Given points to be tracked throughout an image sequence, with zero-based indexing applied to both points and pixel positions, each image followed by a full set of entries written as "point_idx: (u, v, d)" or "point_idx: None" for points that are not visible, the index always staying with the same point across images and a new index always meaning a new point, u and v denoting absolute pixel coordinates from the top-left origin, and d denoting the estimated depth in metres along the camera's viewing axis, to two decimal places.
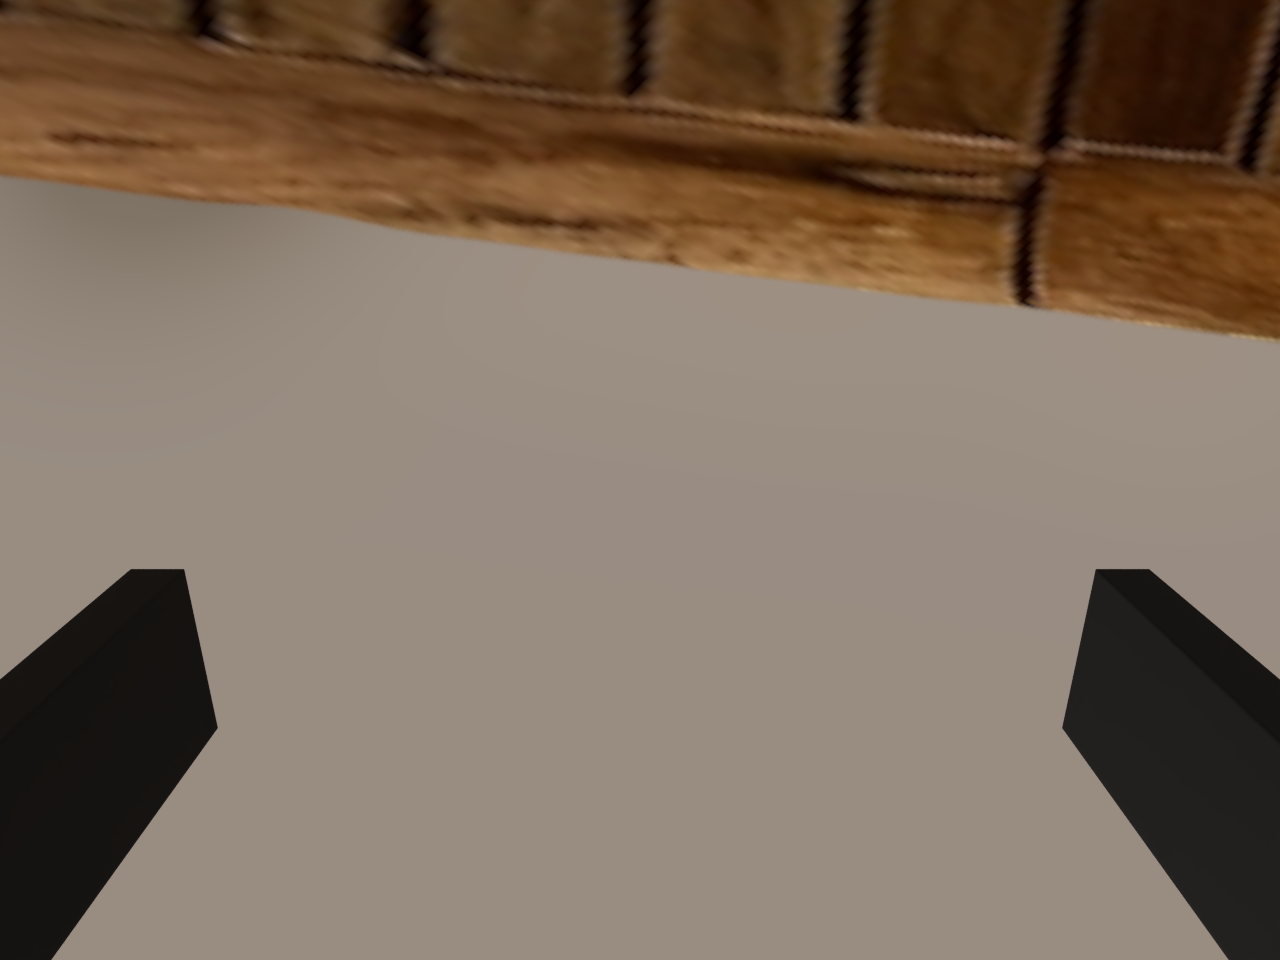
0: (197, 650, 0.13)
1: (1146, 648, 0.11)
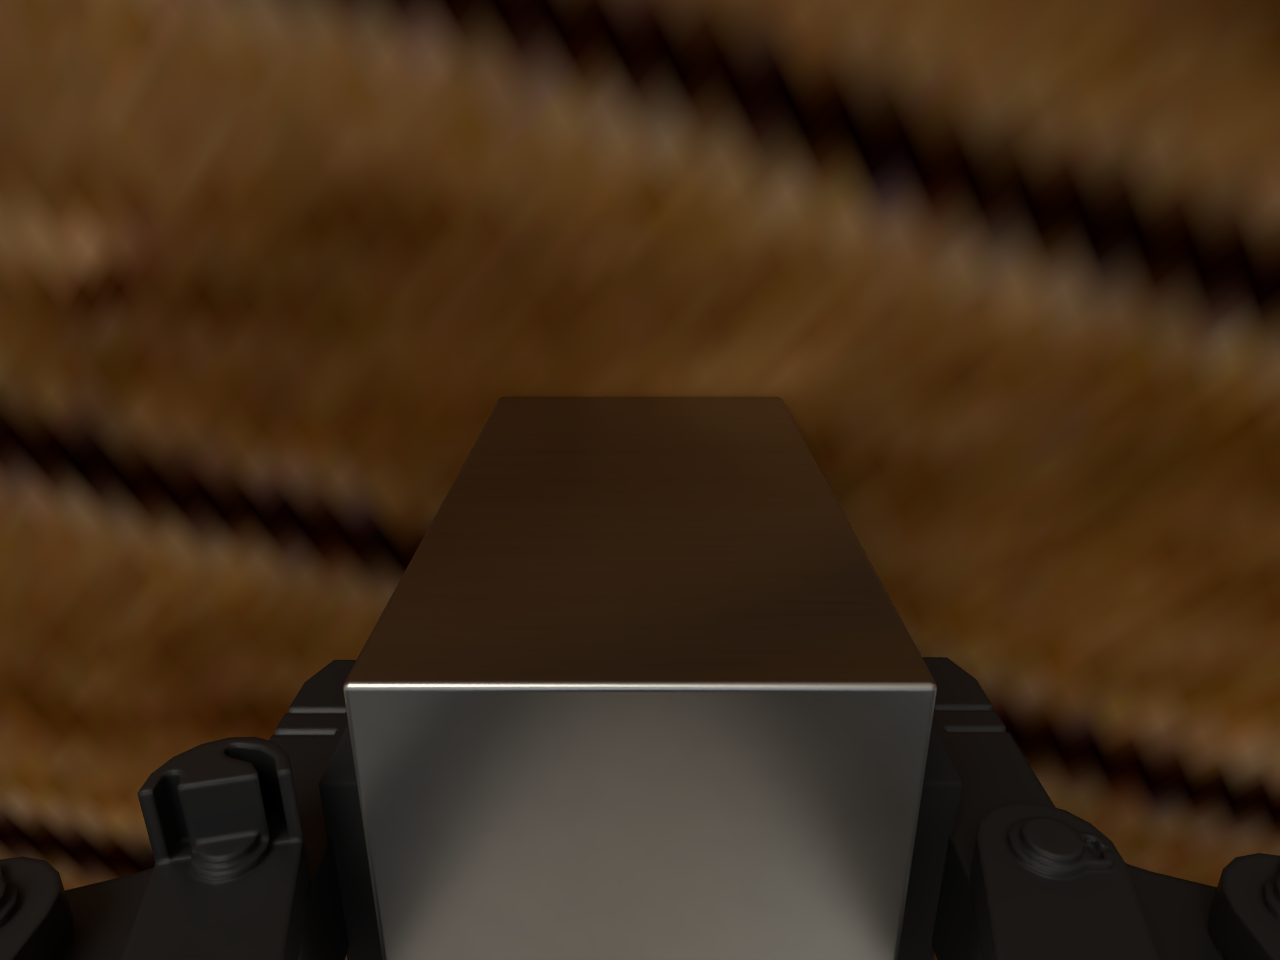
0: None
1: None
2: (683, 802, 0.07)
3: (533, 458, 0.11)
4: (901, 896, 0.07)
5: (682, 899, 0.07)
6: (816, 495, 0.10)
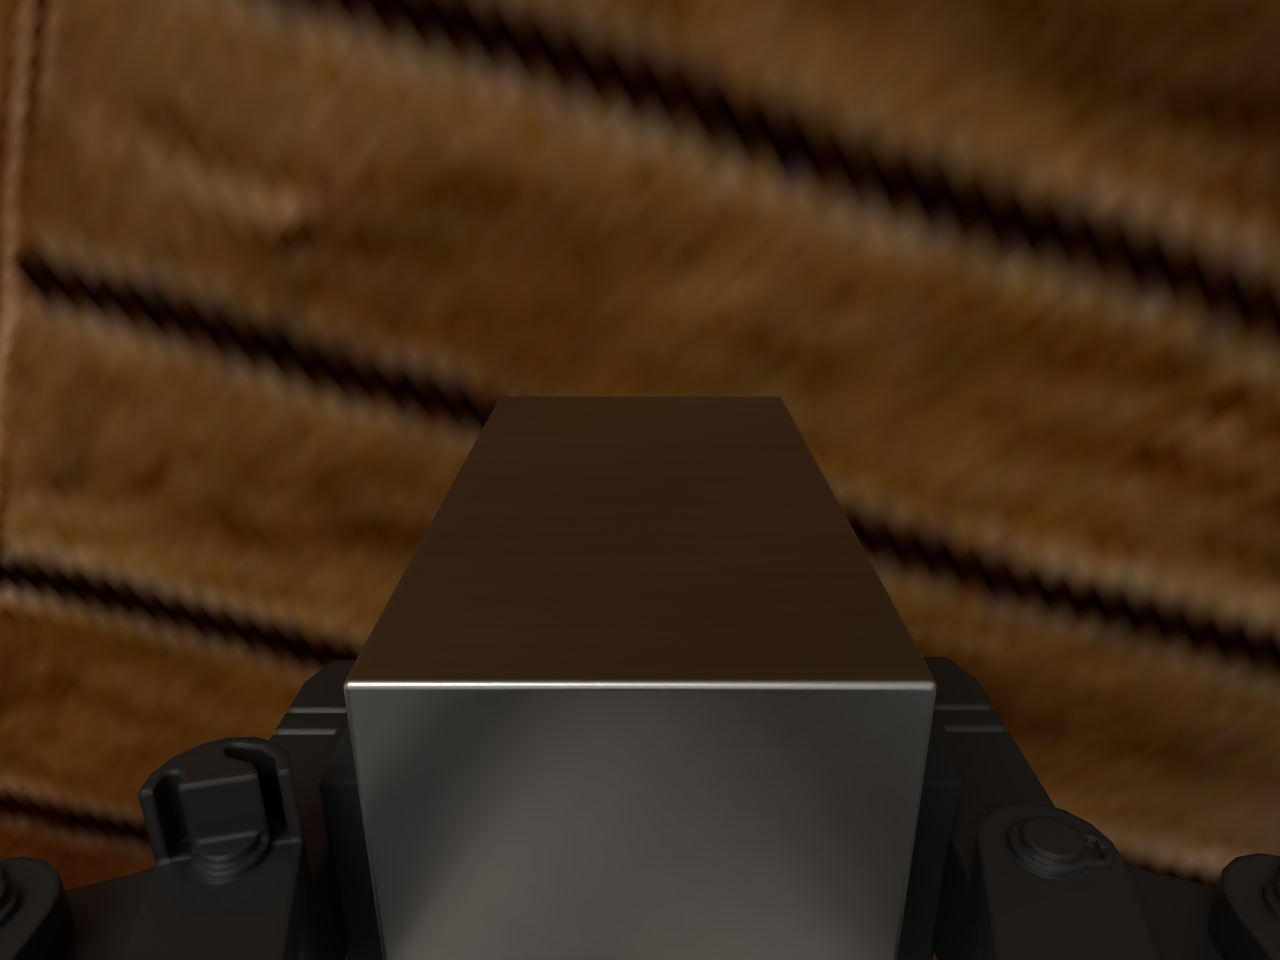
0: None
1: None
2: (682, 802, 0.07)
3: (534, 457, 0.11)
4: (901, 895, 0.07)
5: (683, 897, 0.07)
6: (816, 494, 0.10)
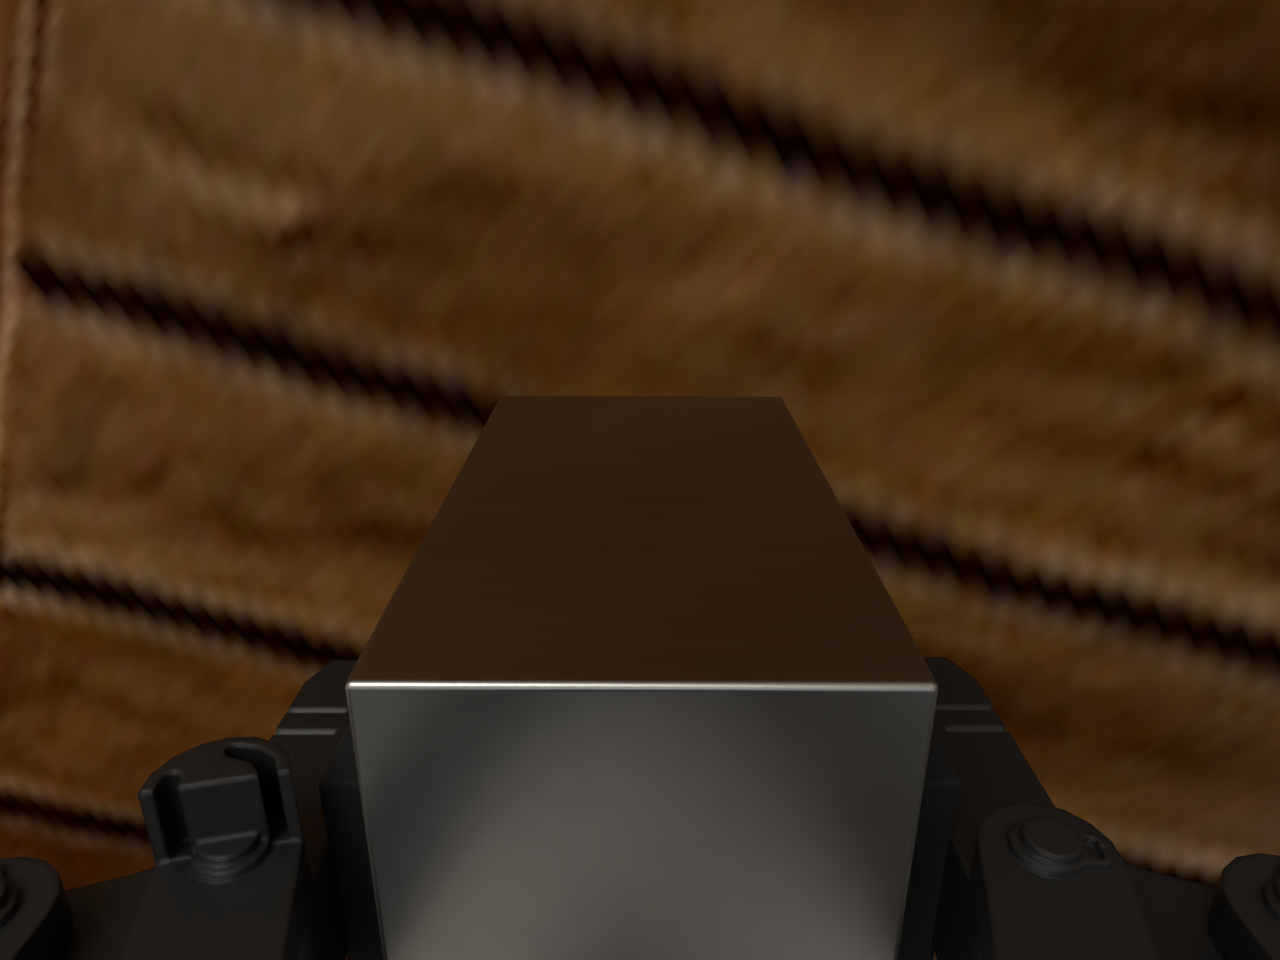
0: None
1: None
2: (683, 804, 0.07)
3: (535, 457, 0.11)
4: (902, 896, 0.07)
5: (684, 898, 0.07)
6: (817, 495, 0.10)
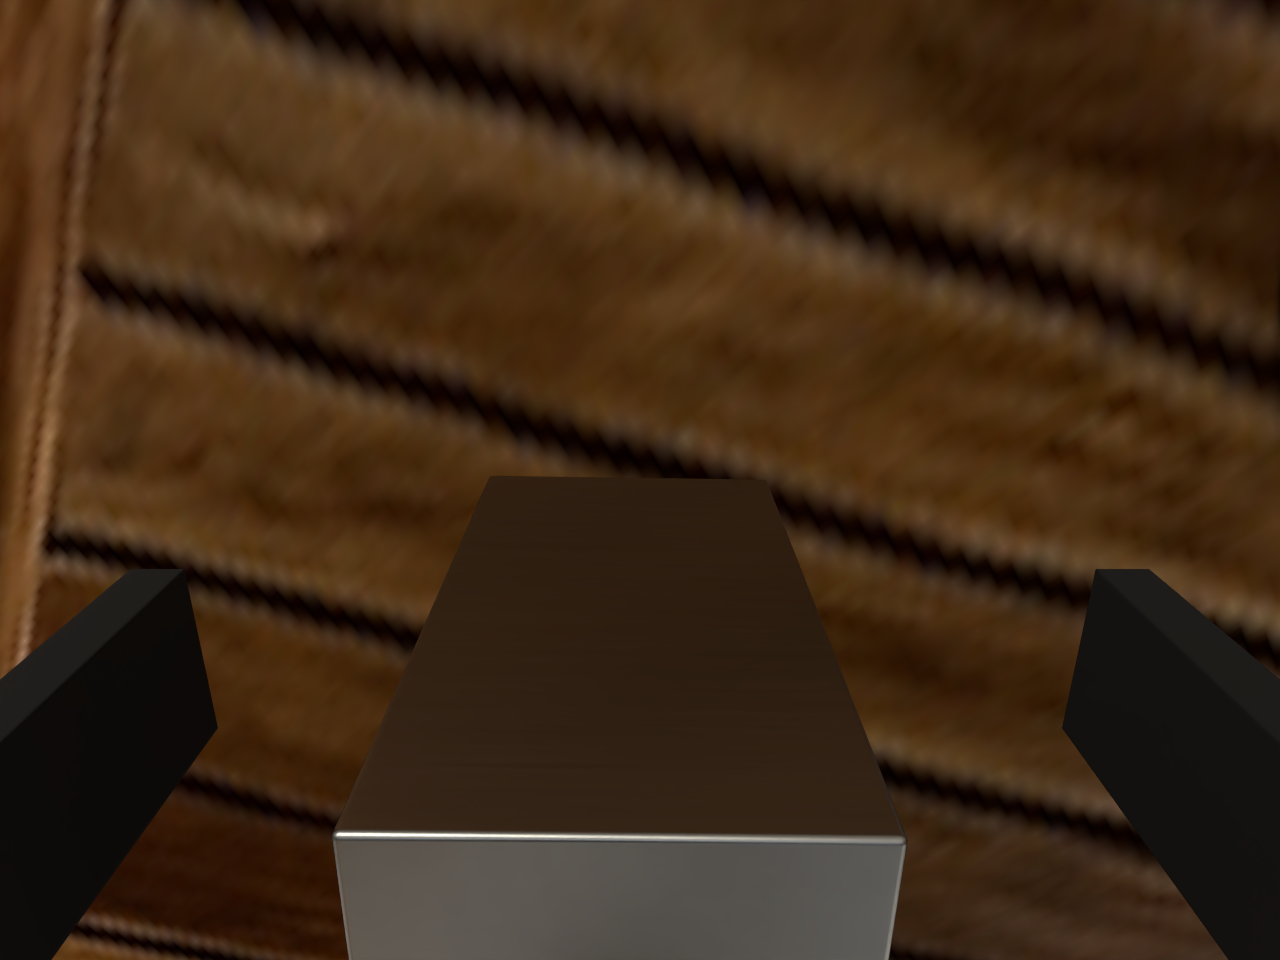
0: (197, 650, 0.13)
1: (1148, 649, 0.11)
2: (661, 945, 0.07)
3: (522, 553, 0.12)
4: None
5: None
6: (797, 604, 0.10)
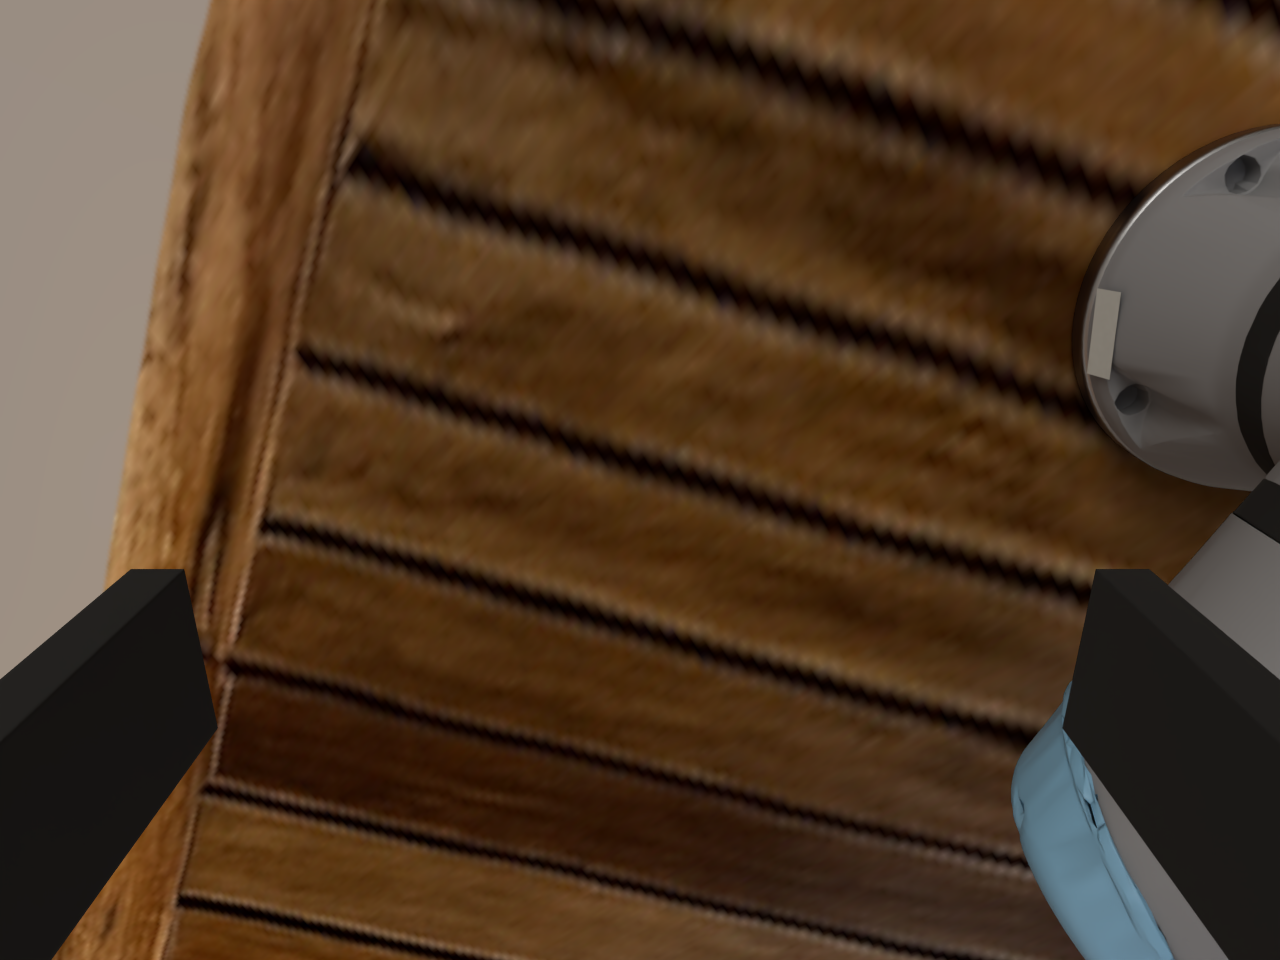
0: (197, 649, 0.13)
1: (1147, 648, 0.11)
2: None
3: None
4: None
5: None
6: None
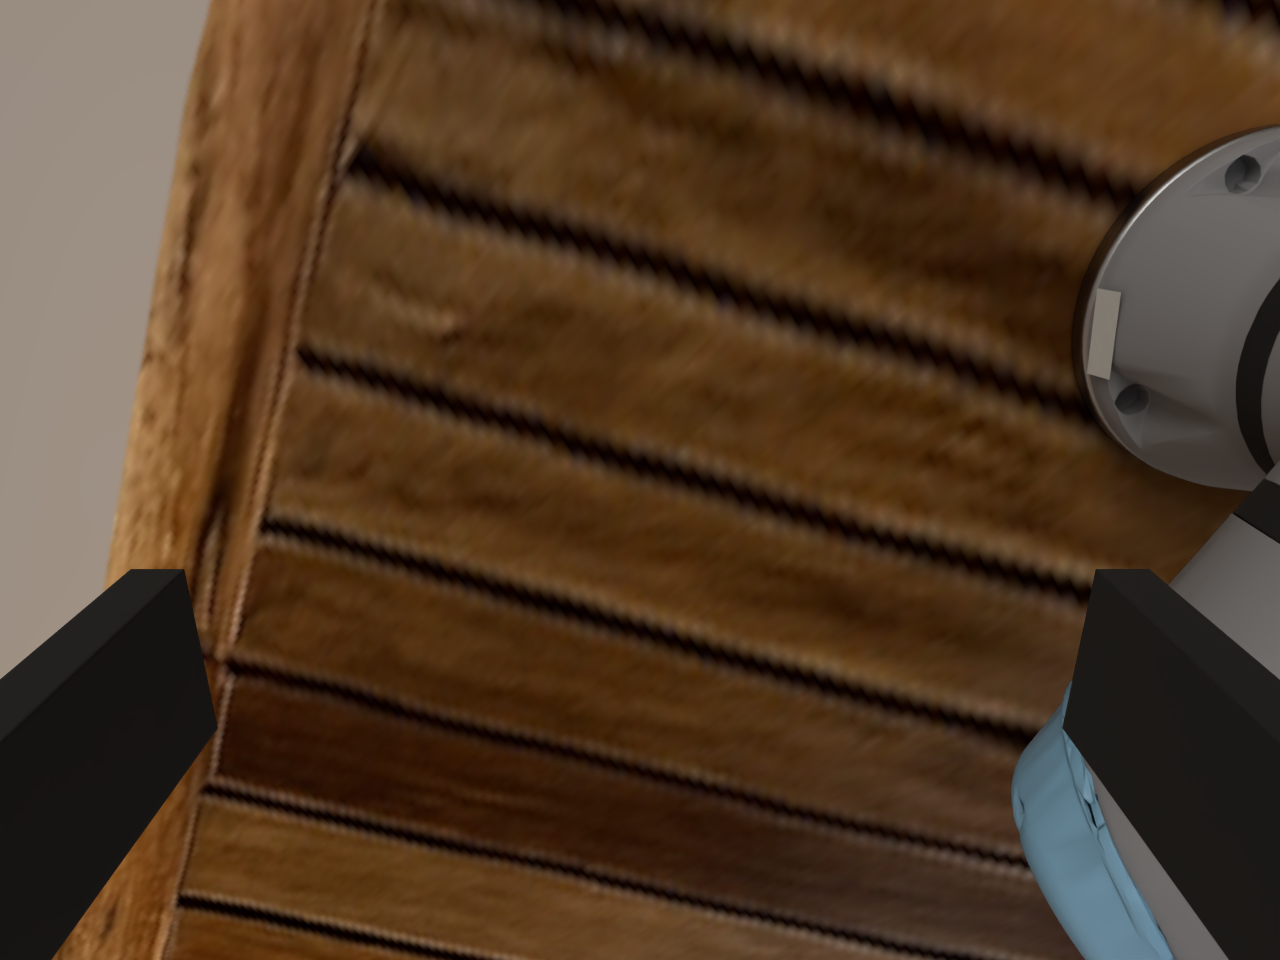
0: (197, 649, 0.13)
1: (1147, 648, 0.11)
2: None
3: None
4: None
5: None
6: None
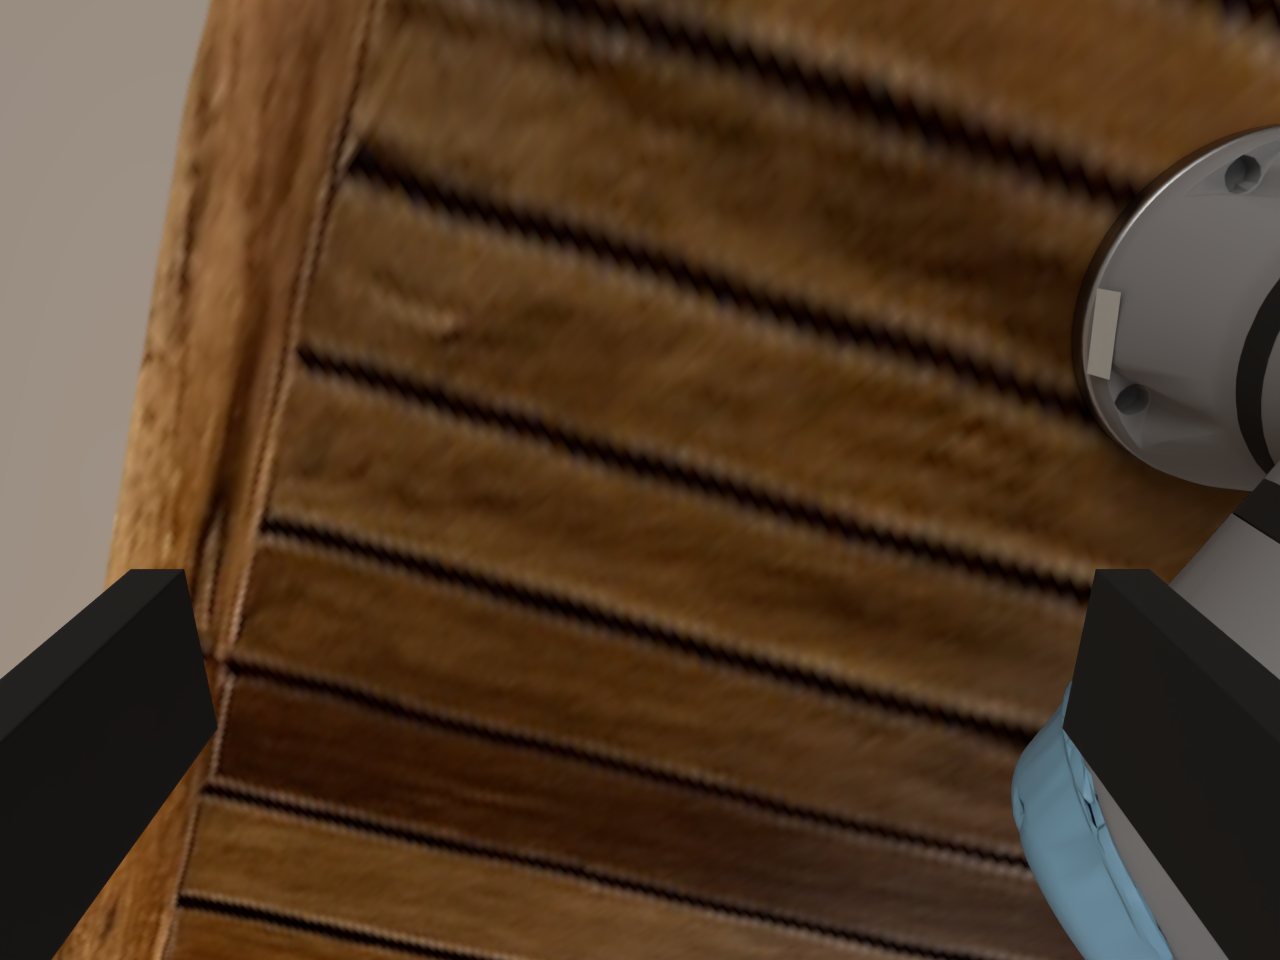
0: (197, 649, 0.13)
1: (1147, 648, 0.11)
2: None
3: None
4: None
5: None
6: None
